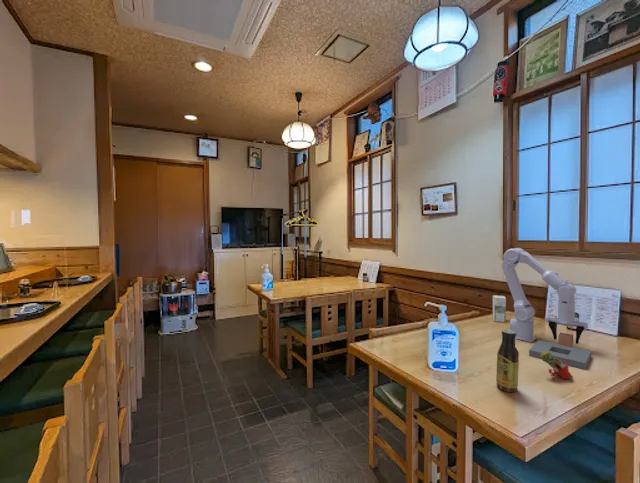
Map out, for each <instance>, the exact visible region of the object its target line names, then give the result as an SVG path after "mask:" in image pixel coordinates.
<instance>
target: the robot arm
mask: <svg viewBox="0 0 640 483" xmlns="http://www.w3.org/2000/svg"><path fill="white" fill-rule="evenodd" d="M502 258H503V259H502V263H501V264H502V265H501V269H502V272H503V274H504V277H505V280H506V284H507V285H508V288H509V291H510V293H511V297H512V300H513V302H514V303H513V309H514V312H513V315H514V317H515V318H514V317H512V318H511V319H510V323H509V330H512V331H515V332H516V337H515V340H521V341H525V342H529V343H532V342H534V341H535V340H536V339H537V337H536V336H534V335H535V332H534V331H535V330H534V327H535V326H534V324H535V323H534V322H535V320H534V319H533V318H534V317H535V315H536V310H535V308H534V307H533V306H532V304H531V303H530V301H529V300H528V299H527V297H526V294H525V292H524V289H523V287H522V283H521V281H520V279H519V276H518V274H517V270H516V269H515V268H516V267H517V266H518V264H519V263H521V264H526V265H527V266H528V267H531V268H532V269H533V270H535V271H536V272H537V273H538V274H539V275H541V278H542V280H543V281H544V282H545V283H546V284H548V285H549V286H550V287H551V288H552V289H553V290H555V291H556V294H557V296H558V301H557V302H558V303H557V304H558V305H557V306H558V308H557V312H558V313H557V317H550V316H549V317H548V316H547V317H546V318H545V322H546V323H548V327H549V328H550V331H551V333H552V336H553V340H558V339H557V338H558V333H557V328H558V325H564V326H565V325H566V326H570V327H576V328H575V345H576V344H577V345H578V344H580V342H579V341H580V339H581V336H582V333H583V332H584V330H585V329H586V330H588V328H589V323H587V322H581V321H577V320H575V312H576V305H575V304H576V302H575V300H576V299H575V294H576V293H577V288H576V287H575V285H574V284H573V283H571V282H569V280H567V279H566V280H565V278H562V277H561V276H560V275H559V273H558V272H557V271H554V270H549V269H547V268H546V267H545V266H544V265H542V264H541V262H539V261H538V260H536V259H535V258H534V257H533V256H532V255H531V254H530V253H529V252H528V251H525V249H524V248H521V247H515V248H509V249H507V250H506V251H505V252H504V253H503V256H502Z"/></svg>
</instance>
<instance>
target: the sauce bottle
mask: <svg viewBox="0 0 640 483" xmlns="http://www.w3.org/2000/svg"><path fill="white" fill-rule="evenodd" d="M501 335H502V336H501V337H502V338H501V343H500V346H499V348H498V351H497V353H496V354H497V355H496V378H495V381H496V386H497V388H498V389H499V390H502V391H503V390H504V392H506V393H507V392H508V393H515V392H517V391H518V386H519V367H520V362H519V357H520V355H519V354H520V352H519V351H518V349H517V347H516V339H515V337H516V332H515V331H512V330H510V329H508V328H507V329H506V328H505V329H502V331H501Z"/></svg>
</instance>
